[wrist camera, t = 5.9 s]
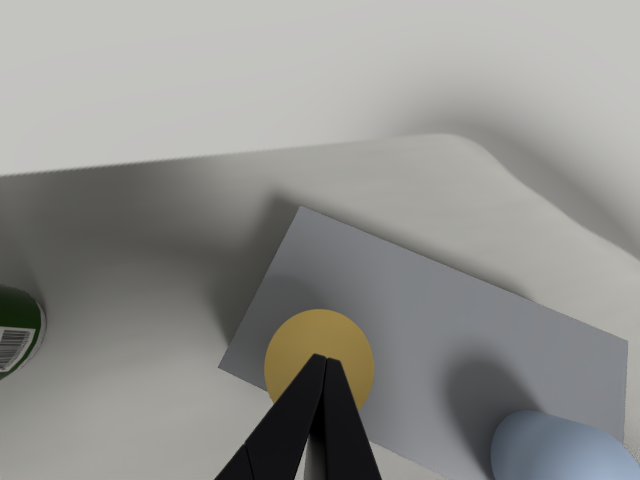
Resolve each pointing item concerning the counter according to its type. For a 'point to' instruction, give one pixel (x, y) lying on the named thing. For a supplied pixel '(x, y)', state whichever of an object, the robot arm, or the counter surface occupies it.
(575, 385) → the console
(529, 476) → the blue button
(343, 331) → the amber button
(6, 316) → the beer can
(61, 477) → the counter surface
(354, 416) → the robot arm
